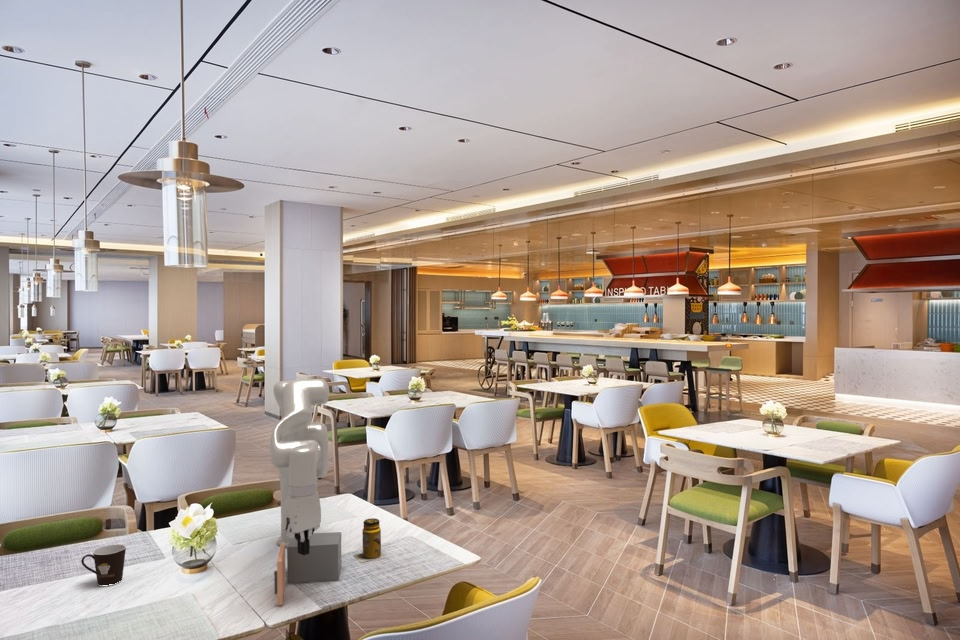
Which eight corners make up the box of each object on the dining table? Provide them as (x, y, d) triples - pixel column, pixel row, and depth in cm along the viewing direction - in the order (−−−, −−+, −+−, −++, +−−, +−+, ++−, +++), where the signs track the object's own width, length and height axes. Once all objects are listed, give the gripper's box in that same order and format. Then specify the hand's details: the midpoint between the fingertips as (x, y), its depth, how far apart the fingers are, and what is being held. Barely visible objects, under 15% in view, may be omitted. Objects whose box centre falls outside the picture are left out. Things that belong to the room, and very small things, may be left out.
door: (285, 582, 186) (285, 542, 186) (282, 604, 171) (281, 561, 171) (278, 583, 185) (278, 543, 185) (274, 605, 170) (274, 562, 170)
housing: (293, 569, 197) (293, 532, 197) (341, 566, 199) (341, 529, 199) (287, 583, 186) (287, 544, 186) (338, 580, 188) (337, 541, 188)
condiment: (385, 557, 206) (385, 521, 206) (361, 562, 201) (361, 526, 202) (376, 550, 212) (376, 515, 212) (353, 556, 208) (352, 520, 208)
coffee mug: (132, 578, 191) (132, 546, 191) (108, 589, 183) (107, 556, 183) (104, 573, 195) (104, 542, 195) (79, 584, 187) (78, 551, 187)
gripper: (316, 481, 185) (316, 542, 185) (272, 493, 173) (273, 558, 173) (332, 486, 180) (332, 548, 181) (288, 498, 168) (289, 565, 169)
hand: (303, 553), depth 177 cm, fingers closed
